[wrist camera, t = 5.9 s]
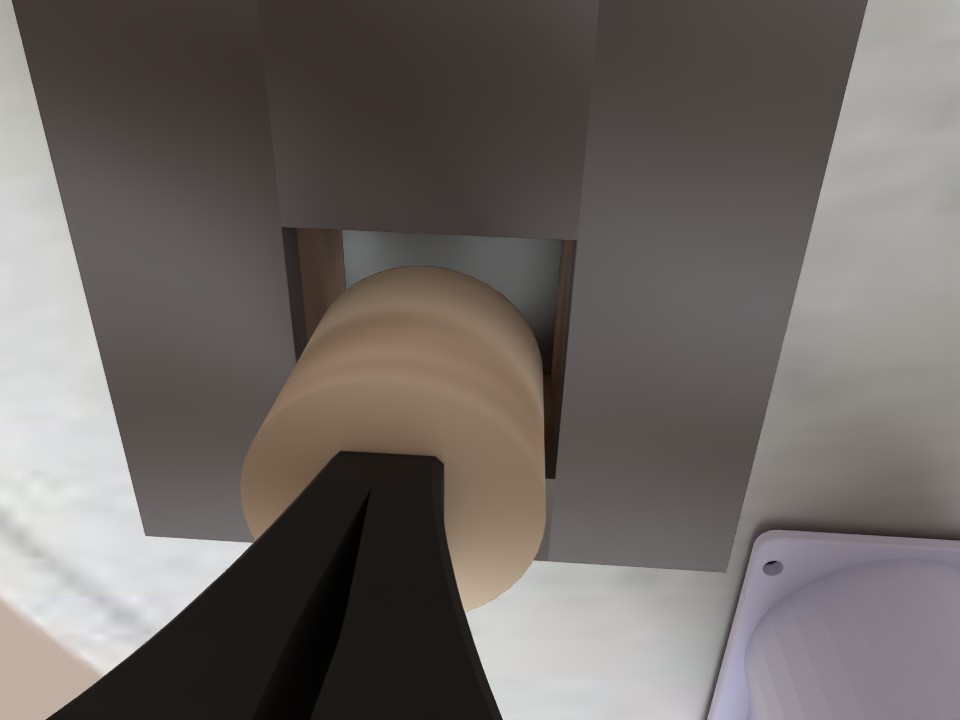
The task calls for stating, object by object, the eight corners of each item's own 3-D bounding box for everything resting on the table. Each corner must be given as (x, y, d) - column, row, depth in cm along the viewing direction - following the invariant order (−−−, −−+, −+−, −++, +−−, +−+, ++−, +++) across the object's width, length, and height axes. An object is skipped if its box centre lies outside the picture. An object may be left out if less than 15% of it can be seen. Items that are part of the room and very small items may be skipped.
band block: (690, 455, 19) (726, 572, 15) (215, 428, 19) (145, 535, 16) (906, -645, 10) (1106, -959, 7) (29, -641, 11) (-221, -931, 7)
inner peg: (536, 474, 14) (536, 629, 11) (320, 462, 14) (259, 611, 11) (551, 272, 12) (557, 389, 9) (301, 260, 12) (219, 370, 9)
